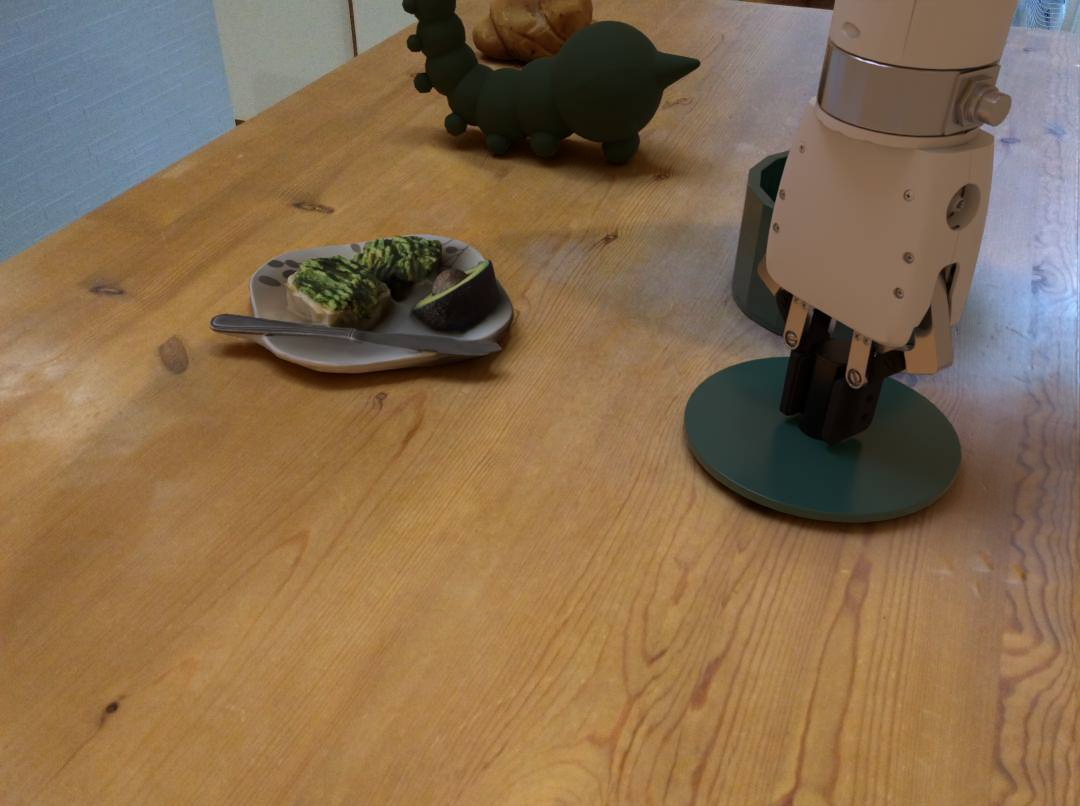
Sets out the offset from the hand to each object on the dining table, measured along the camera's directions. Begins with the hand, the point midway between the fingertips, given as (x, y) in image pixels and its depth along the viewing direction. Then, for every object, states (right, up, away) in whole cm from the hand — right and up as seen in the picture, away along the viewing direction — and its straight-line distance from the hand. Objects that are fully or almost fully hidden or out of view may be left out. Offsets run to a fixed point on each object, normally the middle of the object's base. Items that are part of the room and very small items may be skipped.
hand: (823, 418), depth 60 cm
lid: (0, -1, +1) cm, 1 cm away
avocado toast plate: (-26, +8, +11) cm, 30 cm away
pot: (+5, +10, +15) cm, 19 cm away
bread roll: (-17, +45, +54) cm, 73 cm away
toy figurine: (-15, +28, +34) cm, 47 cm away
